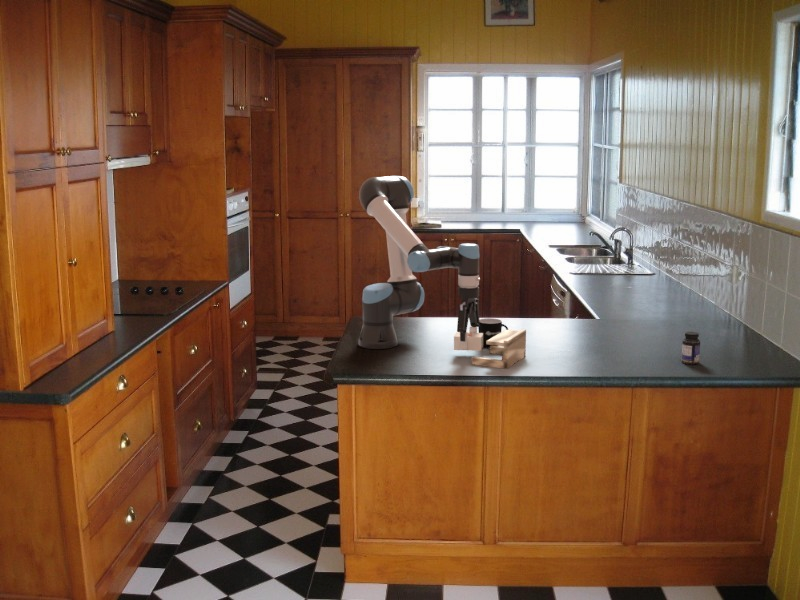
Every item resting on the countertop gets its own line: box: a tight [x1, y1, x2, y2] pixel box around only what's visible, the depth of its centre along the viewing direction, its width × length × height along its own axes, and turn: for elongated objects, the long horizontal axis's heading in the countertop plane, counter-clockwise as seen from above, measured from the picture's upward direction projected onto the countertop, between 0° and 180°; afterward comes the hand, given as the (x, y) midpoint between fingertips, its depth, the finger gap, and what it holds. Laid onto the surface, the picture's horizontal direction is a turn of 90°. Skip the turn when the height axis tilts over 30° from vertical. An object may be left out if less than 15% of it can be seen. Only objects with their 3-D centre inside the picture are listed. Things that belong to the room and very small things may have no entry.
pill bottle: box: [681, 330, 701, 365], centre depth 316 cm, size 6×6×11 cm
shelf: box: [471, 328, 527, 370], centre depth 321 cm, size 14×19×10 cm
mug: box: [477, 317, 509, 349], centre depth 341 cm, size 12×9×10 cm
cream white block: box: [453, 331, 484, 352], centre depth 326 cm, size 10×7×6 cm
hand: (468, 346), depth 327 cm, fingers closed on cream white block, 8 cm apart
